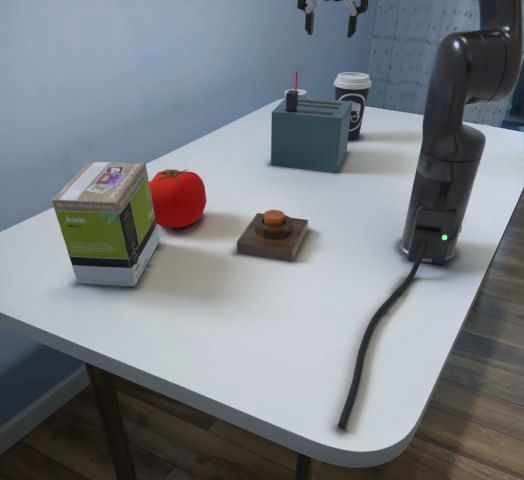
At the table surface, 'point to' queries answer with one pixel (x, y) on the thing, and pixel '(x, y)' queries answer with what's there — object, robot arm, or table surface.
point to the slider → (291, 100)
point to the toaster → (310, 134)
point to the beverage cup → (300, 92)
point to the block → (273, 238)
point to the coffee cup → (353, 97)
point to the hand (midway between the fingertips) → (329, 35)
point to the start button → (274, 218)
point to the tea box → (108, 223)
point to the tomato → (177, 198)
